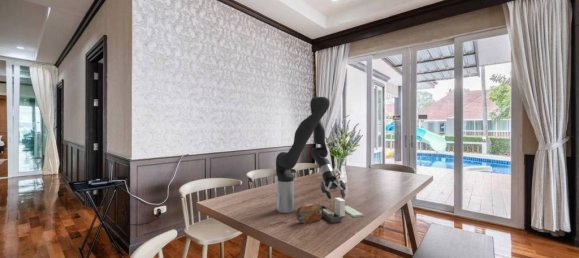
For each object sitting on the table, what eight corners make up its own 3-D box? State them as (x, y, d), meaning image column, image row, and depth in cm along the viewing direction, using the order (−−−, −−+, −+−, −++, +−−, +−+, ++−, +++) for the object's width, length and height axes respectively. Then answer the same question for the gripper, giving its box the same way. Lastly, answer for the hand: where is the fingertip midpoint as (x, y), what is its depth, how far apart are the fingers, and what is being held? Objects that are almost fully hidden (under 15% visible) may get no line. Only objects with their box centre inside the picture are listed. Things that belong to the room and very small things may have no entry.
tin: (298, 225, 120) (298, 207, 120) (295, 222, 123) (295, 205, 123) (323, 219, 127) (323, 203, 127) (320, 217, 129) (320, 201, 129)
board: (354, 217, 130) (354, 215, 130) (339, 207, 146) (339, 206, 146) (363, 216, 132) (363, 214, 132) (347, 207, 147) (347, 205, 147)
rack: (331, 223, 122) (331, 218, 122) (315, 210, 141) (315, 206, 141) (341, 222, 124) (341, 217, 124) (323, 209, 142) (324, 205, 142)
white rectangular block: (340, 216, 131) (340, 200, 131) (334, 213, 137) (334, 197, 137) (345, 216, 132) (345, 200, 132) (339, 212, 138) (339, 197, 138)
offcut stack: (329, 220, 127) (329, 214, 127) (321, 213, 136) (321, 208, 136) (334, 219, 128) (334, 213, 128) (326, 213, 137) (326, 207, 137)
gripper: (318, 170, 144) (327, 195, 133) (340, 169, 148) (350, 193, 137) (315, 178, 149) (323, 202, 138) (336, 176, 153) (345, 200, 142)
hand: (337, 197), depth 138 cm, fingers open, 8 cm apart
